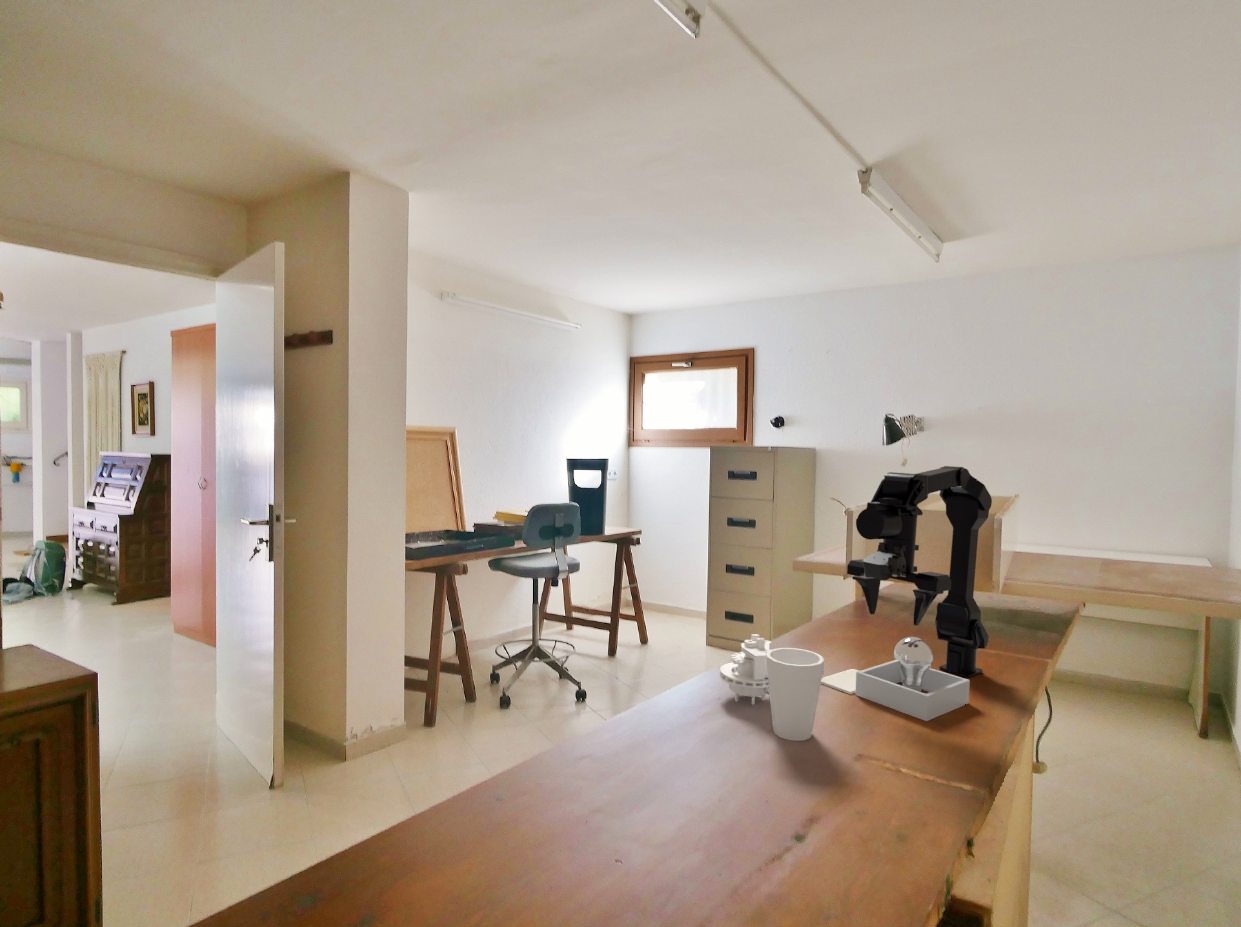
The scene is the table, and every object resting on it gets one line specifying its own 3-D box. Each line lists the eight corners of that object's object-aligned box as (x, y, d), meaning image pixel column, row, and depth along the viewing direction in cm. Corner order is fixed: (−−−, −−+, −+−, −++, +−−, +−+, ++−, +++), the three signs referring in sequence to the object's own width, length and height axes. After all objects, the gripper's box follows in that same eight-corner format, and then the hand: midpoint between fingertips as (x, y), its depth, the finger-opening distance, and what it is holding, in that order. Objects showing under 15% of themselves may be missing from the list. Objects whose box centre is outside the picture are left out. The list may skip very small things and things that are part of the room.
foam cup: (822, 726, 121) (825, 652, 120) (819, 748, 112) (822, 669, 111) (767, 717, 124) (769, 645, 123) (760, 739, 115) (762, 661, 114)
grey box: (898, 680, 144) (899, 658, 144) (968, 703, 132) (969, 680, 132) (855, 694, 135) (856, 672, 135) (926, 721, 123) (927, 696, 123)
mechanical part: (720, 685, 139) (722, 627, 138) (782, 691, 136) (784, 631, 136) (717, 707, 127) (719, 644, 127) (785, 714, 125) (787, 649, 125)
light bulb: (935, 708, 129) (937, 644, 129) (895, 704, 131) (898, 641, 130) (926, 694, 136) (929, 633, 136) (889, 690, 138) (891, 630, 137)
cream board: (852, 670, 149) (852, 668, 149) (886, 682, 142) (886, 679, 142) (816, 681, 142) (816, 679, 142) (850, 694, 135) (850, 691, 135)
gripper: (832, 532, 136) (826, 612, 136) (922, 546, 121) (916, 636, 121) (865, 531, 142) (860, 607, 143) (955, 545, 128) (949, 629, 128)
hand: (893, 619), depth 133 cm, fingers open, 9 cm apart
